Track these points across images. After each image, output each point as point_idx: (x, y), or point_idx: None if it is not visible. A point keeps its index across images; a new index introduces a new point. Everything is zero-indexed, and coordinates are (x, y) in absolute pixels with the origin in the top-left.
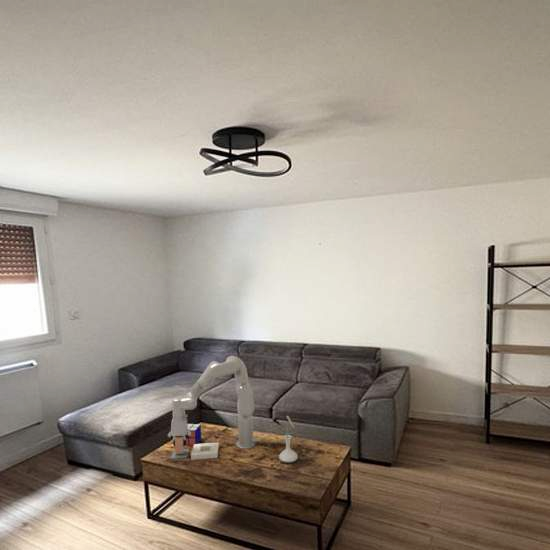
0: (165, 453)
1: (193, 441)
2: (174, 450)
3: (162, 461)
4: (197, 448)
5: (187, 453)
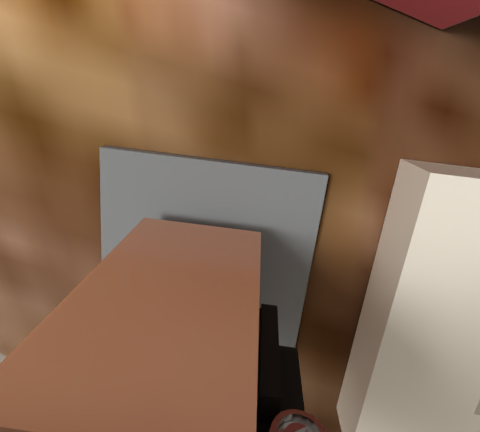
0: (10, 176)
1: (436, 3)
2: (114, 156)
3: None
4: (462, 331)
5: (300, 290)
